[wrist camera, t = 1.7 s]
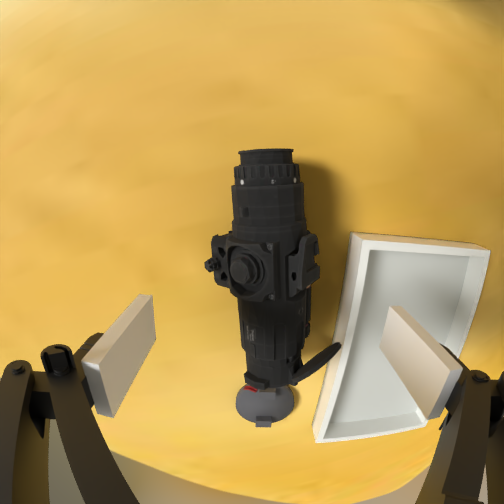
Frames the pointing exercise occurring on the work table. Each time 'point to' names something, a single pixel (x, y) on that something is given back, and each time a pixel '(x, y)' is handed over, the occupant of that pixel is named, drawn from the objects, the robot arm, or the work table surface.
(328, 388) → the tray
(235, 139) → the work table surface
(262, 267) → the night vision scope
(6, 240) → the work table surface
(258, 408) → the lens cap
